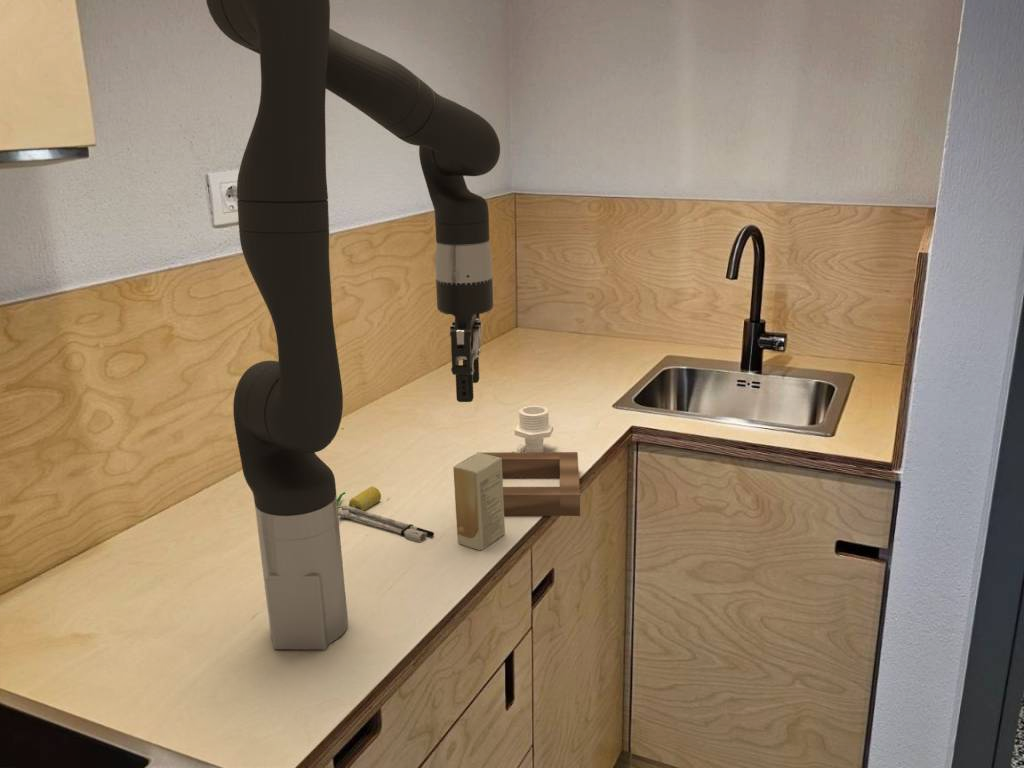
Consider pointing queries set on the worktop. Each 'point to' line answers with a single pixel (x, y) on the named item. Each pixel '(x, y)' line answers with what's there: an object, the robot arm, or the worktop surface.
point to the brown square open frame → (541, 498)
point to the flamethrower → (369, 499)
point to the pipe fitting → (534, 427)
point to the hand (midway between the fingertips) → (468, 391)
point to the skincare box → (479, 500)
